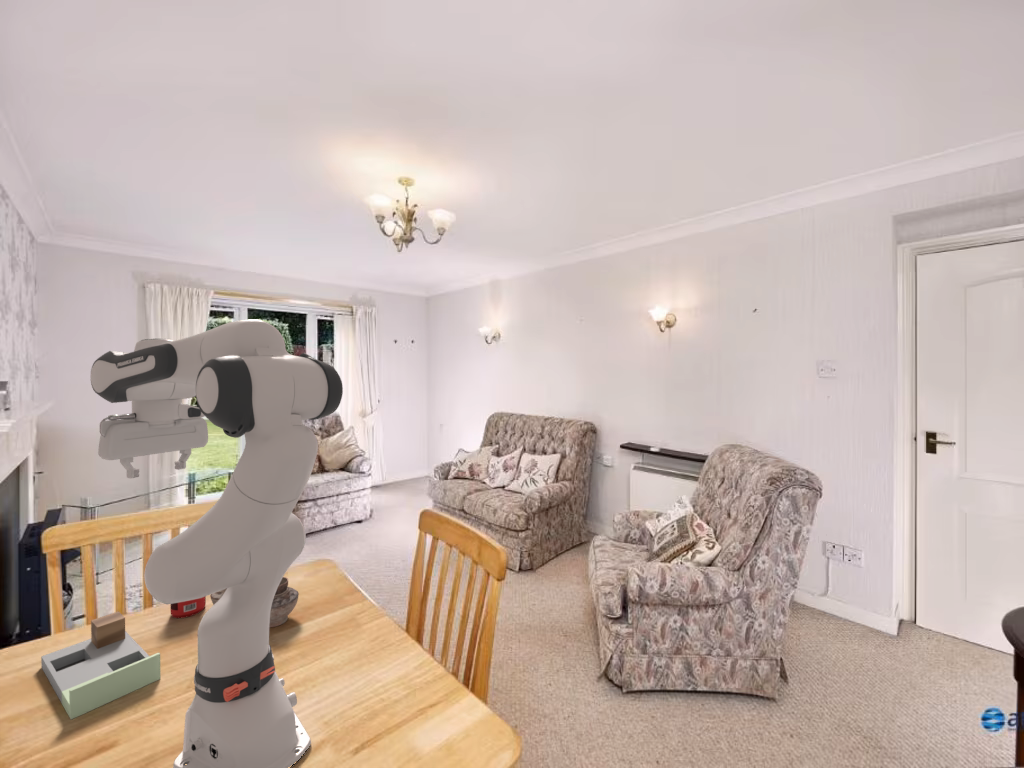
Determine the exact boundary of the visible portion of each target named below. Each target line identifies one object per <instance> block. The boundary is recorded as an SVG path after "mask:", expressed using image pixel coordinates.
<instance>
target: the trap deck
mask: <svg viewBox="0 0 1024 768" xmlns="http://www.w3.org/2000/svg"><path fill="white" fill-rule="evenodd" d="M40 659H41V664H40V665H41V669H42V672H44V675H45V676H46V678H47V679H48V682H49V683H50V685H51V688H52V689H53V690H54V692H55V694H56V697H58V700H59V701H60V703H61V705H62V707H63V708H64V711H65V712H66V714H67V715H68V717H69V719H70V720H73V719H75V718H78V717H80V716H83V715H84V714H87V713H89V712H91V711H93V710H95V709H97V708H99V707H102V706H104V705H106V704H108V703H111V702H112V701H113V702H114V701H115V700H117V699H119V698H122V697H123V696H126V695H129V694H130V693H133V692H135V691H137V690H139V689H141V688H143V687H146V686H148V685H150V684H152V683H155V682H157V681H159V680H161V653H160V652H157V653H154V654H151V655H149V653H148V652H146V650H144V649H143V647H142V646H141V645H140V644H138V643H137V642H136V640H134V639H133V637H132V636H131V635H130V633H128V632H127V631H126V630H125V639H123V640H120V641H117V642H115V643H112V644H109V645H107V646H104V647H101V648H99V649H97V648H96V646H95V645H94V644H93V643H92V641H91V638H89V639H86V640H83V641H80V642H78V643H75V644H72V645H70V646H69V645H68V646H66V647H63V648H61V649H59V650H55V651H53V652H50V653H47V654H45V655H41V658H40Z"/></svg>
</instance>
